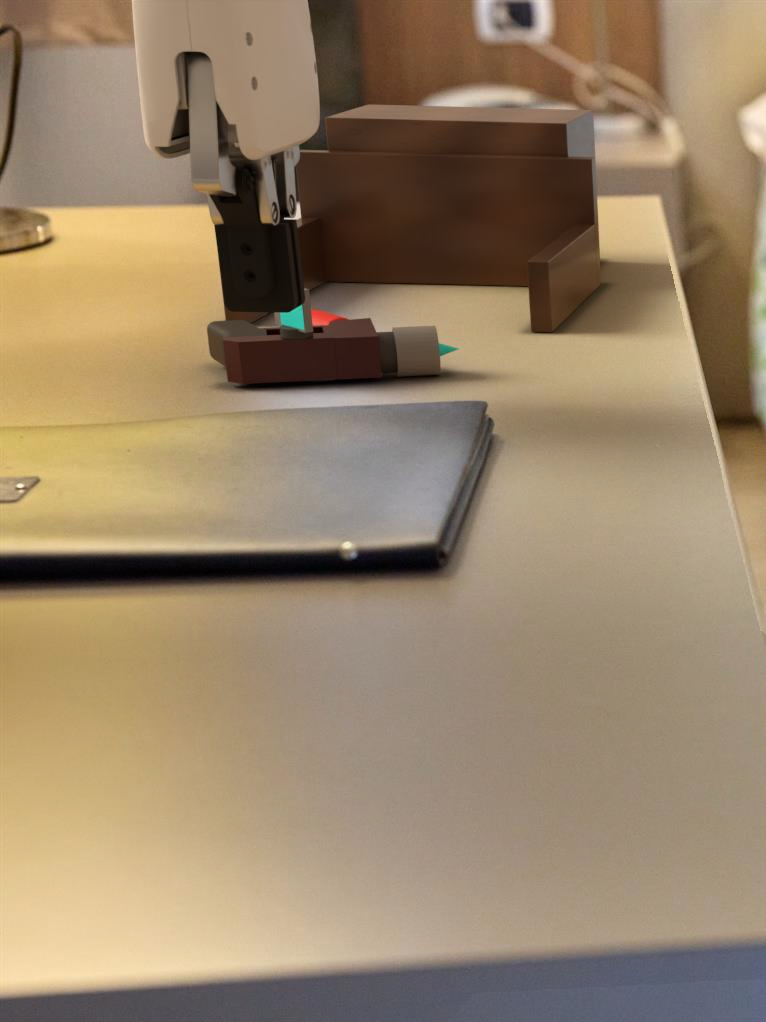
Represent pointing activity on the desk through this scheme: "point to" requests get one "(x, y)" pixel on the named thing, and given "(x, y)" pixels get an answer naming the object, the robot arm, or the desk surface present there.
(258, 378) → the toy gun
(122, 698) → the desk surface
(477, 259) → the brown u-shaped frame
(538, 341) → the desk surface
